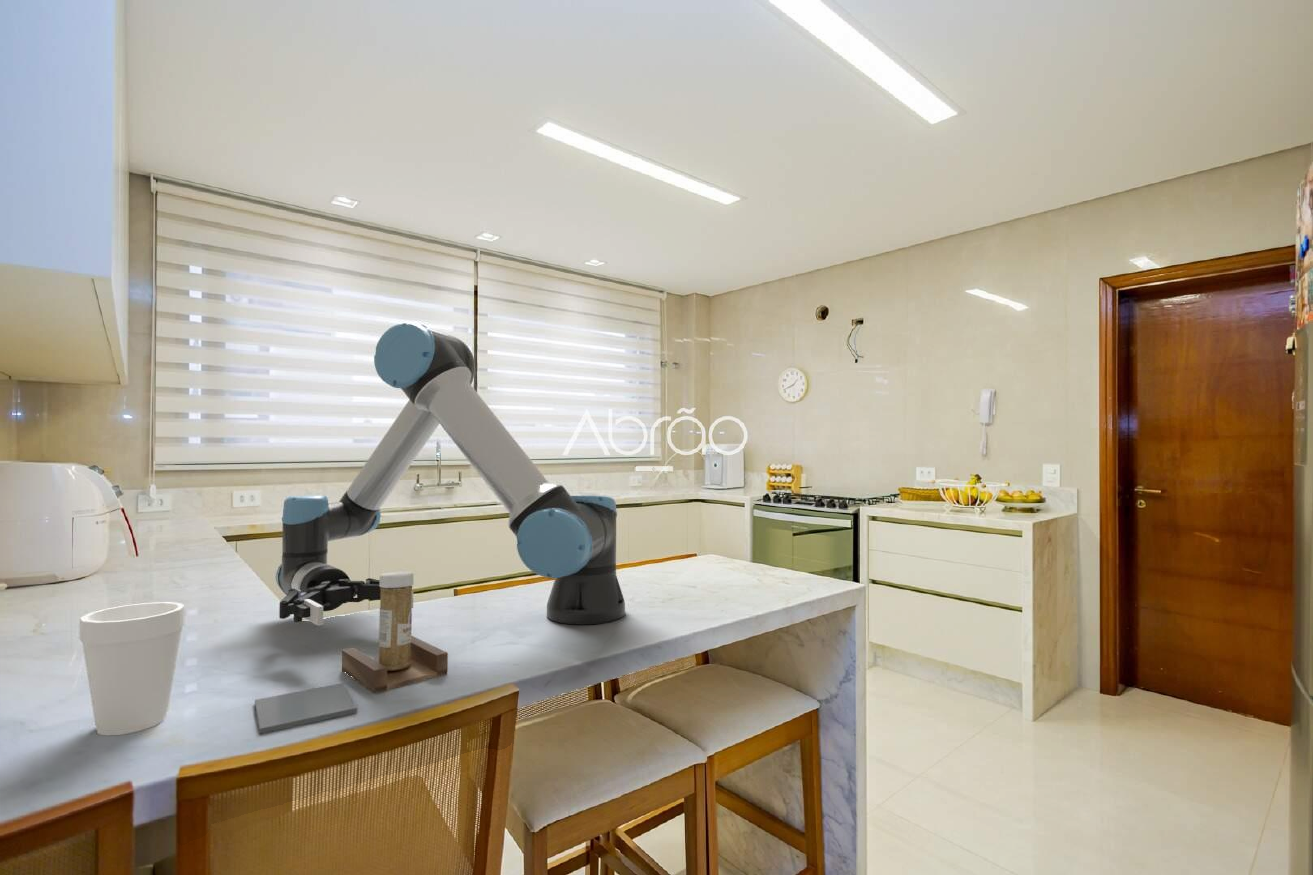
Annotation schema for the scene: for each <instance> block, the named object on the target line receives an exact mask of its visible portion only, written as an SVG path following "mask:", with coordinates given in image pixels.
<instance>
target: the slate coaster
mask: <svg viewBox="0 0 1313 875" xmlns="http://www.w3.org/2000/svg"><path fill="white" fill-rule="evenodd" d="M254 705H255V706H254V707H255V713H256V719H257V724H258V730H259V735H261V734H267V733H270V732H276V731H280V730H286V729H289V728H292V727H293V728H294V727H299V726H303V725H306V724H307V725H308V724H312V723H315V722H316V723H317V722H320V721H321V722H322V721H325V719H326V720H330V719H334V718H339V717H343V716H348V715H353V714H357V713H358V707H357V705H356V704H355V702H354V700H353V697H351V695H350V693H349V691H348V689H347V687H346V686H345V684H344V682H341V683H335V684H330V685H324V686H320V687H319V686H318V687H314V688H309V689H305V690H304V689H303V690H299V691H294V692H288V693H283V694H280V695H279V694H278V695H274V696H273V695H272V696H268V697H263V698H258V699H254Z"/></svg>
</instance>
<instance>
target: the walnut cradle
mask: <svg viewBox="0 0 1313 875" xmlns="http://www.w3.org/2000/svg"><path fill="white" fill-rule="evenodd" d="M448 656H449V654H448V652H447V651H444V650H442V649H441V648H438V647H437V646H436V645H432V644H431V643H428V642H426V641H424V640H422V639H419V638H417V637H415V636H413V635H411V665H410V666H409V667H407V668H404V669H401V670H396V671H387V667H385V666H384V665H382V664H380V663H379V657H378V658H372V657H370V656H368V655H366V654H365V653H363V652H361V651H360V650H358V649H357V648H355V647H350V648H346V649H342V650H341V671H342V672H343V673H344V672H346V675H347V674H348V675H349V676H348V675H347V676H348V677H350V676H352V677H353V678H354V679H355V680H354V679H353V678H352V679H353V680H354V681H355V682H357V681H358V682H359V683H358V682H357V683H358V684H360V685H362V686H363V687H364V686H365V688H366V689H367V690H368V691H370V690H371V691H370V692H371V693H373V694H374V693H375V694H377V693H381V692H384V691H385V690H386V691H389V690H392V689H396V688H400V686H401V687H403V686H408V685H411V684H414V683H418V682H422V681H427V680H429V679H430V680H431V679H434V678H437V677H441V676H444V675H448V673H449V672H448V669H449V668H448V660H449V659H448ZM388 689H389V690H388ZM386 691H385V692H386Z"/></svg>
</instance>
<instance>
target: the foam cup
mask: <svg viewBox="0 0 1313 875" xmlns="http://www.w3.org/2000/svg"><path fill="white" fill-rule="evenodd" d="M185 607H186V606H185V605H184V604H183V603H181V602H173V601H157V602H155V601H154V602H143V603H135V604H126V605H125V604H124V605H119V606H114V607H113V606H112V607H109V608H103V609H100V610H97V611H96V610H95V611H92V612H88V613H86V614H84V615H82V616H81V617H79V636H78V637H79V638H78V639H79V640H80V641H81V643H82V648H83V654H84V656H83V657H84V661H85V668H86V674H87V682H88V688H89V694H90V698H91V707H92V713H93V720H94V725H95V727H96V729H95V730H96V732H97V734H98V735H102V736H117V735H118V736H121V735H126V734H130V733H132V734H133V733H137V732H139V731H143V730H146V729H149V728H152V727H154V726H156V725H158V724H160V723H162V722H164V720H165V719H166V718H167V716H168V712H169V707H170V702H171V701H170V700H171V694H172V689H173V684H174V678H175V672H176V666H177V662H178V660H177V659H178V655H179V648H180V642H181V635H182V631H183V627H184V626H185V625H186V624H185V623H186V622H185V620H186V619H185V618H186V613H185V612H186V608H185Z"/></svg>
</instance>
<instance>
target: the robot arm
mask: <svg viewBox="0 0 1313 875" xmlns="http://www.w3.org/2000/svg"><path fill="white" fill-rule="evenodd" d="M373 362H374V367H375V371H376V373H377V375H378V377H379V378H380V379H381V380H382V382H384V383H385V384H387V385H389V386H391V387H392V388H395V389H401V391H402V392H403V393H404V394H405V396H406V397H407V398H408V399H409V400H407V402H406V404H405V405H404V407H403V408H402V410H401V411H400V413H399V414H398V416H397V417H396V418H395V420H394V421H393V423H392V424H391V425H390V428H389V429H388V430H387V432H386V433H385V434H384V436H383V437H382V439H381V440H380V442H379V443H378V445H377V446H376V447H375V449H374V451H373V452H372V453H371V455H370V456H369V458H368V459H367V461H366V462H365V464H364V465H363V466H362V468H361V470H360V471H359V473H358V474H357V475H356V477H355V478H354V479H353V480H352V483H351V484H350V486H348V489H346V491H345V493H344V494H343V495H342V496H341V498H340V499H339V501H336V502H329V499H328V497H327V496H326V495H322V494H321V495H320V494H308V495H307V494H306V495H305V494H304V495H291V496H289V497H286V499H285V500H284V501H283V509H282V517H281V522H282V536H281V537H282V548H281V549H282V550H281V552H282V554H281V564H280V565H279V566H278V568H277V569H276V570H277V571H276V572H275V581H276V585H277V587H278V588H279V589H280V591H282V592H283V593H284V595H286V596H284V597H283V598H282V599H281V600H280V601H279V608H278V610H279V611H278V612H279V614H278V616H279V617H278V619H282V620H285V619H287V618H289V617H290V616H291V615H293V622H294V623H300V622H303V619H305V620H307V621H310V623H313V624H314V625H316V626H323V625H324V612H329V611H334V610H335V609H338V608H339V607H341V606H342V605H343V604H348V603H360V602H361V603H362V601H363V602H364V600H369V601H370V600H371V601H372V600H374V601H375V600H376V601H380V598H381V591H380V588H381V587H380V586H379V583H380V579H376V578H366V579H365V581H364V580H351V579H350V577H349V575H348V574H347V573H346V572H345V571H344V570H342V569H340V568H337V567H335V566H332V565H331V564H328V544H329V543H328V542H332V541H335V540H342V539H343V540H344V539H348V538H354V537H360V536H363V535H365V534H367V533H368V534H369V533H371V532H373V531H374V530H375V529H377V527H378V526H379V524H380V523H381V516H382V515H381V510H380V509H381V507H382V506H383V504H384V503H385V501H386V500H387V499H388V497H389V496H390V495H391V493H392V492H393V490H394V489H395V487H396V486H397V485H398V483H399V482H400V481H401V479H402V478H403V476H404V475H405V473H406V472H407V471H408V469H409V468H410V466H411V465H412V464H413V462H414V461H415V459H416V458H417V456H419V454H420V452H421V450H423V448H424V447H425V445H426V444H427V442H428V441H429V439H430V438H431V436H433V433H434V432H435V431H436V430H437V429H438V427H439V425H440V426H441V427H442V428H443V430H444V431H445V433H446V434H447V435H448V436H449V437H450V439H451V440H452V441H453V443H454V444H455V445H456V447H457V448H458V449H459V451H460V452H461V453H462V454H463V455H464V457H465V459H467V461H468V462H469V463H470V464H471V466H472V467H473V468H474V469H475V471H476V472H477V473H478V475H479V476H480V477H481V479H482V480H483V481H484V483H486V485H487V486H488V487H489V489H490V490H491V492H492V493H493V494H494V496H496V498H497V499H498V501H500V503H501V504H502V505H503V507H504V508H505V510H507V512H508V513H509V517H508V524H507V527H508V528H509V529H510V531H511V532H512V534H513V535H514V536H515V537H516V542H517V543H516V550H517V553H518V556H519V558H520V560H521V562H522V563H523V564H524V565H525V567H526V568H528V569H529V570H530V571H531V572H533V574H536V575H538V576H541V577H543V578H550V579H554V581H553V584H552V588H551V589H550V593H549V597H548V600H547V603H546V617H547V619H549V620H550V621H553V622H557V623H561V624H567V625H568V624H569V625H595V624H604V623H609V622H613V621H617V620H619V619H622V618H623V617H624V616H625V615H626V600H625V598H624V595H623V591H622V588H621V586H620V582H619V579H618V575H617V516H618V511H617V503H616V501H615V499H614V498H613V497H611V496H605V495H593V494H592V495H590V494H588V495H587V494H570V493H569V492H568V491H567V489H566V488H565V487H564V486H563V485H562V484H561V483H560V484H558V483H551V482H549V481H548V480H547V479H546V477H545V476H544V475H543V473H542V472H541V471H540V470H539V468H538V467H537V466H536V465H535V463H534V462H533V461H532V459H531V458H530V457H529V455H528V454H526V452H525V451H524V449H523V448H522V447H521V446H520V444H519V443H518V442H517V441H516V440H515V438H514V437H513V436H512V434H511V433H510V432H509V431H508V430H507V428H506V427H505V425H504V424H503V423H502V422H501V420H500V419H499V418H498V417H497V416H496V415H495V413H494V412H493V411H492V410H491V408H490V407H489V406H488V405H487V403H486V402H485V401H484V400H483V398H482V397H481V396H480V395H479V393H478V392H477V391H476V389H475V388H474V387H473V386H472V384H473V381H474V378H475V374H476V362H475V357H474V355H473V352H472V351H471V349H470V348H469V346H468V345H467V344H466V343H465V342H464V341H462V340H461V339H460V338H457V337H455V336H453V335H450V334H447V333H444V332H440V331H437V330H435V329H431V328H428V326H426V325H424V324H422V323H413V322H400V323H397V324H395V325H393V326H391V327H390V328H388V329H387V330H386V331H385V332H383V334H382V335H381V336H380V338H379V340H378V341H377V343H376V346H375V353H374V356H373ZM411 609H414V591H413V590H412V606H411Z"/></svg>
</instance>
